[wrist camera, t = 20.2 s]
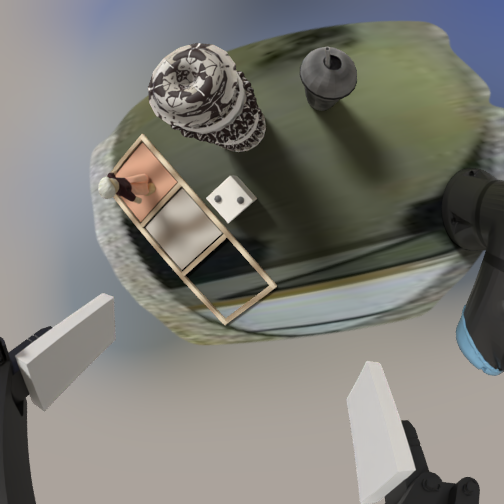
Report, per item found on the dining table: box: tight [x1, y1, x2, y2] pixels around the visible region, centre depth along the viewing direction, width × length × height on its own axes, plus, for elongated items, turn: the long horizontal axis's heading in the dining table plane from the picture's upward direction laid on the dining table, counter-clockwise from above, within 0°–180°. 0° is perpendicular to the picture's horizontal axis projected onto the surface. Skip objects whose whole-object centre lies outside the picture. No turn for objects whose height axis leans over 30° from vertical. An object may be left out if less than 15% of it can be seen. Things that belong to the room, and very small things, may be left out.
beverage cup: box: [300, 47, 357, 111], centre depth 30 cm, size 7×7×20 cm
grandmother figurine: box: [98, 170, 156, 204], centre depth 41 cm, size 8×4×13 cm, turn 57°
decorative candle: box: [148, 43, 266, 152], centre depth 31 cm, size 9×9×25 cm
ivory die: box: [206, 176, 257, 223], centre depth 43 cm, size 5×5×6 cm
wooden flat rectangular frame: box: [107, 134, 277, 325], centre depth 48 cm, size 36×13×1 cm, turn 42°
